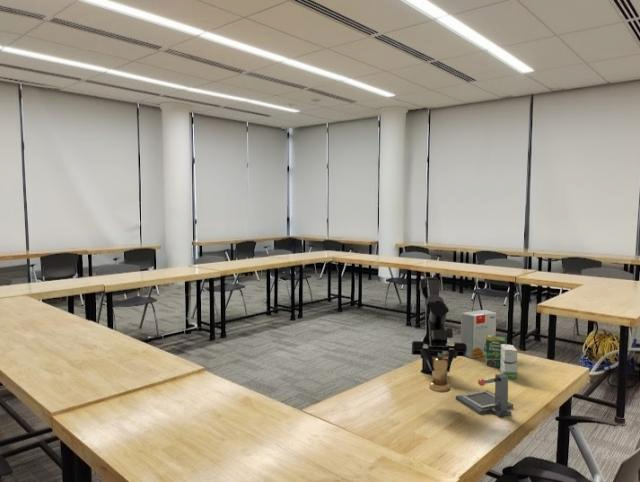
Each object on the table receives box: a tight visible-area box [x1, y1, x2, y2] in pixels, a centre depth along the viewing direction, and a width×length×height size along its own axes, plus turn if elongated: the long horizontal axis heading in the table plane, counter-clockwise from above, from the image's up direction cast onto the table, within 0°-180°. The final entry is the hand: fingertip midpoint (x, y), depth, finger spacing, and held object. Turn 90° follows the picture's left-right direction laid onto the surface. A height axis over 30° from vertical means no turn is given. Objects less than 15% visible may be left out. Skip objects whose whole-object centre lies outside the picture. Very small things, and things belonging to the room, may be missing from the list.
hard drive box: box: [460, 309, 497, 359], centre depth 209 cm, size 16×8×20 cm, turn 117°
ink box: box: [499, 343, 518, 380], centre depth 183 cm, size 9×5×12 cm, turn 168°
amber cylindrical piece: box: [428, 353, 451, 394], centre depth 154 cm, size 7×7×12 cm
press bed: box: [455, 372, 514, 418], centre depth 155 cm, size 17×16×13 cm
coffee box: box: [485, 335, 507, 368], centre depth 194 cm, size 8×3×13 cm, turn 59°
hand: (440, 371), depth 153 cm, fingers closed on amber cylindrical piece, 5 cm apart
